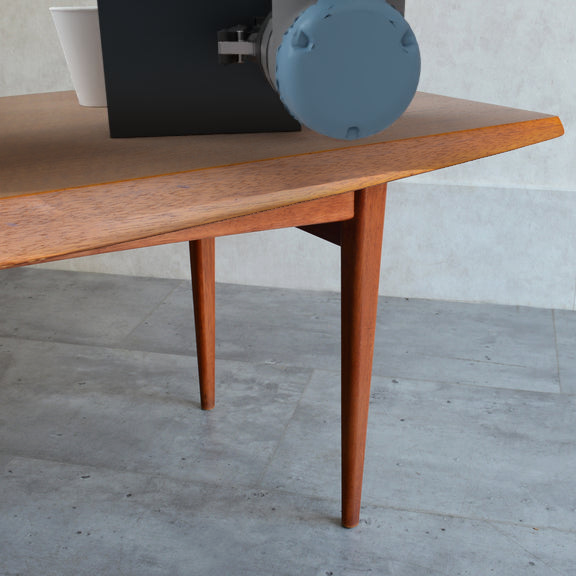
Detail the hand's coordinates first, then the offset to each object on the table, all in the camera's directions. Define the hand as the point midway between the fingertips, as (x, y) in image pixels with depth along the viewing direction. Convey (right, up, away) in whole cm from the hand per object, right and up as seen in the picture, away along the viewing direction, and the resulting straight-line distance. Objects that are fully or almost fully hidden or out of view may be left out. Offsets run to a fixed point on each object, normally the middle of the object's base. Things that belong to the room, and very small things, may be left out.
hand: (278, 35), depth 74 cm
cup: (-24, 0, +27) cm, 37 cm away
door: (-7, -10, +1) cm, 12 cm away
